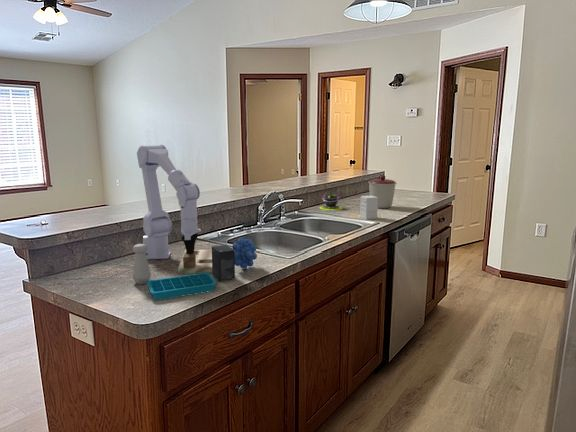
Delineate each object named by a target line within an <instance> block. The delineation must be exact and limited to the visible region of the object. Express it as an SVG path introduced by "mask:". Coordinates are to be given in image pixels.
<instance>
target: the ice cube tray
mask: <svg viewBox="0 0 576 432" xmlns="http://www.w3.org/2000/svg"><path fill="white" fill-rule="evenodd" d="M217 283H218V282H217V281H216V278H215V277H214V276H213V275H212V273H191V274H186V275H185V274H184V275H178V276H171V277H170V276H169V277H163V278H156V279H149V281H148V282H147V283H146V284H147V286H148V289H149V292H150V294H152V296H153V299H154V300H156V301H160V300H166V299H165V298H167V299H171V298H170V297H173V298H177V297H176V296H179V297H183V296H182V295H186V296H189V295H188V294H192V295H196V294H195V293H199V294H202V293H201V292H205V293H208V292H207V291H211V292H213V291H215V285H217ZM212 290H213V291H212Z"/></svg>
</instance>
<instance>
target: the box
mask: <svg viewBox="0 0 576 432" xmlns="http://www.w3.org/2000/svg"><path fill="white" fill-rule="evenodd" d="M211 249H212V273H211V275H212V277H214V278H215V279H217V280H218V281H219V282H223V281H224V280H226V281H230V280H229V279H232V280H235V279H236V268H235V267H236V265H235V252H234V251H235V250H234V249H233V247H232V246H229V245H227V244H221V245H220V244H219V245H212V246H211ZM234 278H235V279H234Z"/></svg>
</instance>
